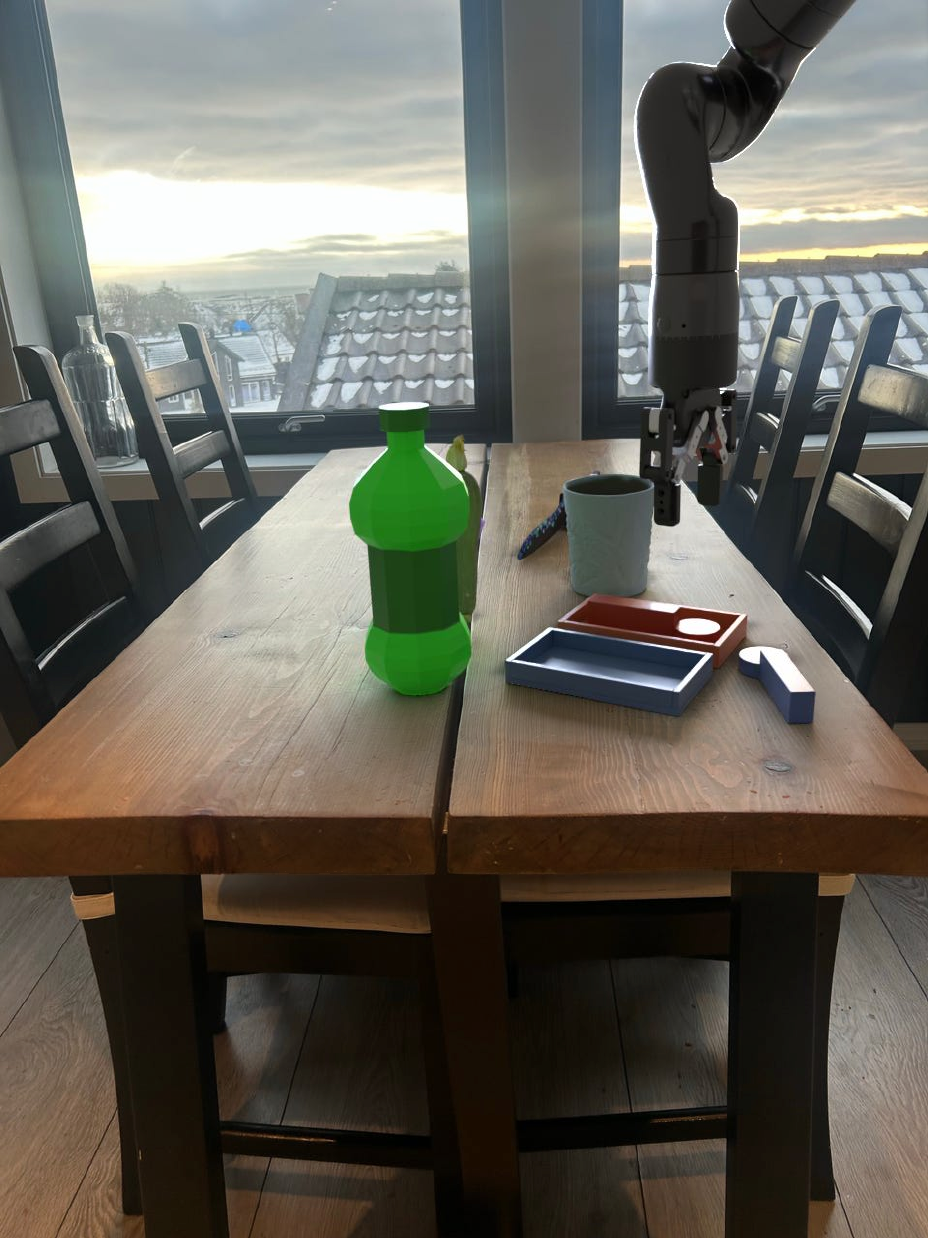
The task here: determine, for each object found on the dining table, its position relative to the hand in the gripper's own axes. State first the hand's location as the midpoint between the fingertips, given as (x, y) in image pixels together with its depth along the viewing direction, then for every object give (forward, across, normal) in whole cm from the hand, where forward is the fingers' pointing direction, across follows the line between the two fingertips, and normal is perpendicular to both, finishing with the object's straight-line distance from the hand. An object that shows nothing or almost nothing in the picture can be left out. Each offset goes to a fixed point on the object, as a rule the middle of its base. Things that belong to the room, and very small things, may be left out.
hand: (688, 514), depth 91 cm
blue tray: (+14, -9, +3) cm, 17 cm away
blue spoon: (+14, -4, -10) cm, 18 cm away
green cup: (+13, +13, +16) cm, 25 cm away
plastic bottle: (+14, -19, +17) cm, 29 cm away
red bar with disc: (+13, +2, +4) cm, 14 cm away
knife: (+13, +30, +34) cm, 47 cm away
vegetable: (+13, -5, +23) cm, 27 cm away
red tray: (+13, +2, +4) cm, 14 cm away
